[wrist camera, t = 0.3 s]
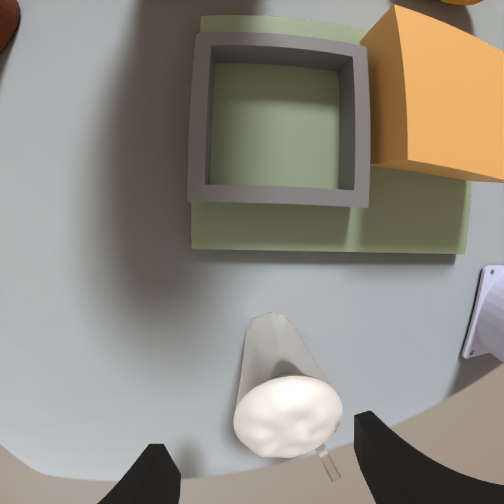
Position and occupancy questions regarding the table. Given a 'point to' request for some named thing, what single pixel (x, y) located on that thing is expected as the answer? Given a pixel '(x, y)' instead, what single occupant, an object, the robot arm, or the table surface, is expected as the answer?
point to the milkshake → (284, 395)
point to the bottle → (8, 21)
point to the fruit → (462, 2)
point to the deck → (340, 133)
